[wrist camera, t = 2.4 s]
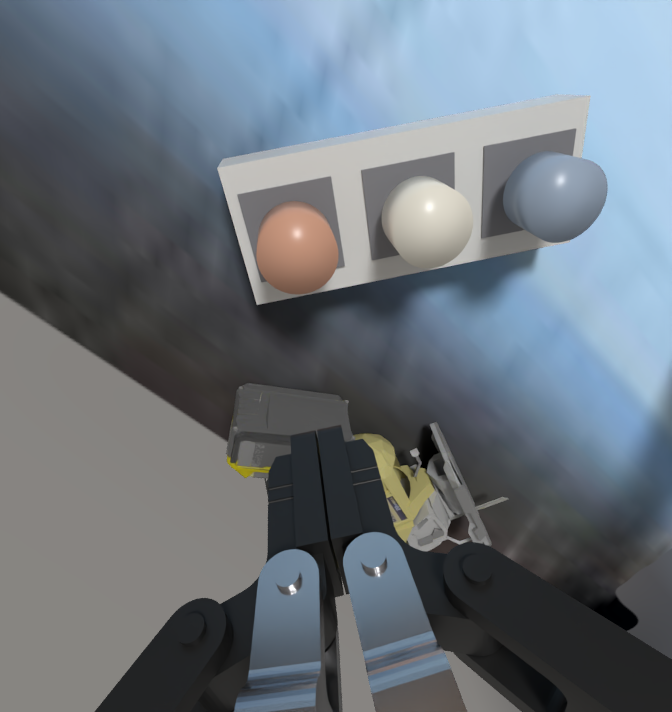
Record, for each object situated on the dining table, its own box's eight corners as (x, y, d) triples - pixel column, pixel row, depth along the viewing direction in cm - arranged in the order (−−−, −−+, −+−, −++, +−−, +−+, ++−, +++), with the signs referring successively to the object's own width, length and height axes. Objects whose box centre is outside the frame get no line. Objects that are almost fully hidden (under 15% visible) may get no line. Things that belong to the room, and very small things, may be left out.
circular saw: (499, 482, 55) (324, 546, 59) (426, 295, 39) (192, 402, 43) (538, 560, 46) (331, 628, 51) (467, 361, 30) (169, 487, 34)
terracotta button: (325, 194, 28) (331, 207, 25) (336, 266, 31) (344, 286, 28) (249, 209, 28) (246, 224, 25) (267, 280, 31) (267, 301, 28)
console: (556, 94, 32) (592, 95, 28) (542, 227, 37) (571, 242, 34) (223, 158, 31) (217, 168, 28) (258, 284, 37) (256, 306, 33)
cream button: (452, 169, 28) (473, 179, 25) (453, 243, 31) (472, 260, 28) (377, 183, 28) (390, 195, 25) (385, 257, 31) (397, 275, 28)
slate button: (579, 144, 28) (614, 151, 25) (568, 220, 31) (599, 234, 28) (505, 158, 28) (532, 167, 25) (501, 233, 31) (525, 249, 28)
